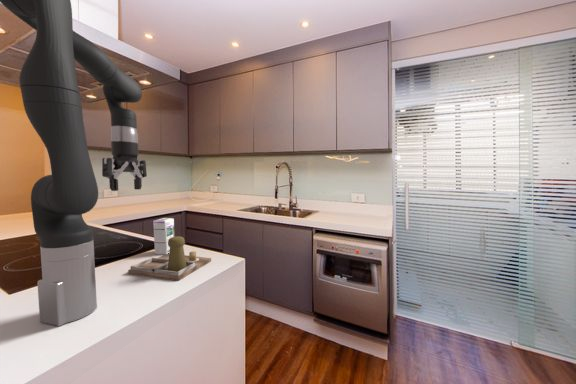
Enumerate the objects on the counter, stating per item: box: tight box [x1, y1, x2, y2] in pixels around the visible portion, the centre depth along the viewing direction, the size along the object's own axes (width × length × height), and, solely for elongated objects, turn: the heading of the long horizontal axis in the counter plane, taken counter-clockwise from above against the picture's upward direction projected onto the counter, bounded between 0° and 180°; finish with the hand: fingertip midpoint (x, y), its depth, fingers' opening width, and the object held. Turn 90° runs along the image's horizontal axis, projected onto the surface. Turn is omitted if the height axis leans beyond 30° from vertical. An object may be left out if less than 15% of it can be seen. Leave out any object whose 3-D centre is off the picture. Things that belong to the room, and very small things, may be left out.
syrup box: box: [152, 217, 176, 255], centre depth 103 cm, size 6×6×14 cm
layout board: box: [127, 251, 212, 281], centre depth 87 cm, size 18×20×4 cm
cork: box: [167, 235, 187, 272], centre depth 82 cm, size 6×6×11 cm
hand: (126, 190), depth 82 cm, fingers open, 8 cm apart
